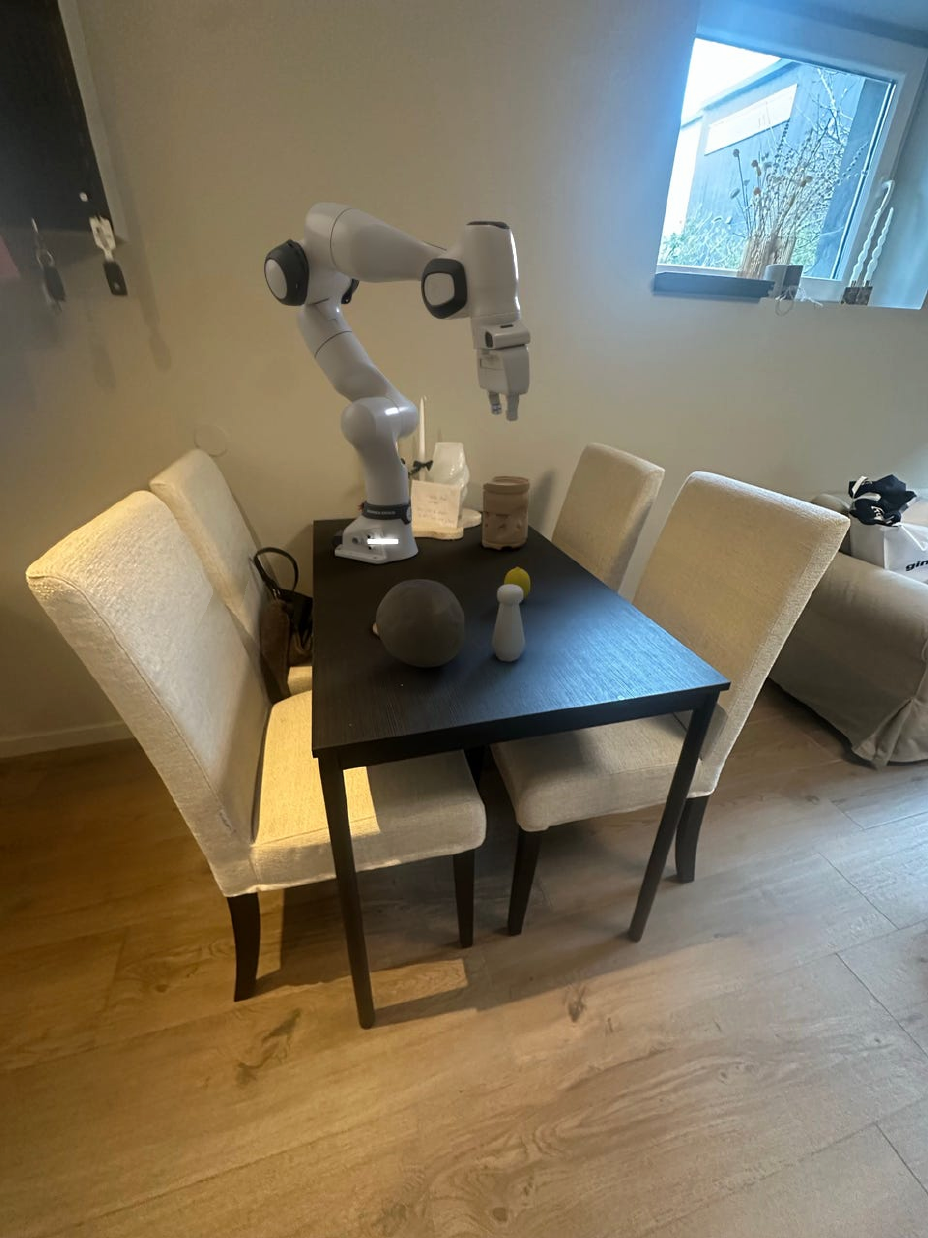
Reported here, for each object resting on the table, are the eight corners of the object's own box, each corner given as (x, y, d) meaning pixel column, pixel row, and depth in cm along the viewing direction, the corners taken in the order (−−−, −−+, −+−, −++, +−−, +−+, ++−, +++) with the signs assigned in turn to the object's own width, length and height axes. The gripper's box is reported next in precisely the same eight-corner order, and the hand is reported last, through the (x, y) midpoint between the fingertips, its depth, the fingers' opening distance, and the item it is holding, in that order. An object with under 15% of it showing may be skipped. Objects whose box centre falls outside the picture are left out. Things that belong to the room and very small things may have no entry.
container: (478, 550, 137) (478, 483, 129) (486, 536, 148) (487, 474, 140) (523, 553, 134) (527, 486, 126) (529, 539, 145) (532, 476, 137)
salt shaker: (524, 647, 89) (528, 581, 83) (524, 665, 84) (529, 595, 78) (492, 646, 90) (493, 579, 84) (490, 663, 85) (491, 593, 79)
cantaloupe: (422, 636, 93) (418, 561, 87) (482, 661, 85) (483, 580, 79) (364, 667, 84) (355, 586, 77) (425, 699, 76) (421, 611, 69)
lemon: (512, 610, 103) (513, 574, 100) (498, 600, 108) (499, 565, 104) (534, 604, 106) (536, 569, 102) (520, 595, 110) (521, 561, 106)
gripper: (465, 337, 96) (474, 413, 103) (496, 336, 79) (504, 427, 86) (496, 332, 97) (503, 407, 104) (534, 330, 80) (539, 421, 87)
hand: (504, 417), depth 95 cm, fingers open, 8 cm apart
